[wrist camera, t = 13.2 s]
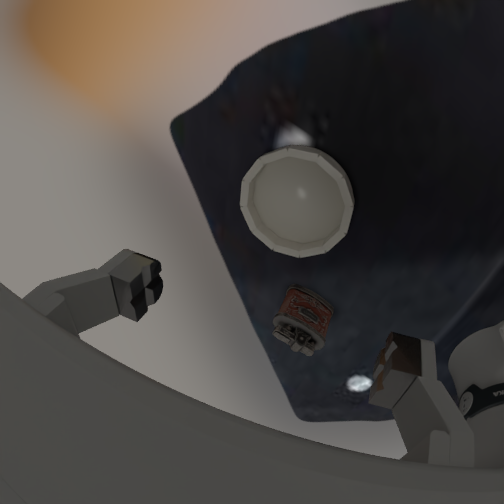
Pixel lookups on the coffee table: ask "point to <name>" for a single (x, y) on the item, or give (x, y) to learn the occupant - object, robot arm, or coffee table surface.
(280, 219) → the ring dish
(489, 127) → the coffee table surface
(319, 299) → the lighter
